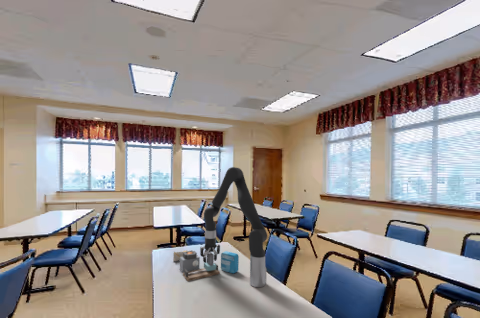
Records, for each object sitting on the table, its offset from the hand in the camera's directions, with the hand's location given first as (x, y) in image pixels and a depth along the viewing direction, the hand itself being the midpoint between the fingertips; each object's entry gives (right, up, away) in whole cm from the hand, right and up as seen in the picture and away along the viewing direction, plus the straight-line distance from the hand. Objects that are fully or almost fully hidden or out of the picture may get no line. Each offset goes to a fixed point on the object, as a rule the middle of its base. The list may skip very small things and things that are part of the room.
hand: (210, 261), depth 158 cm
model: (-25, -9, +20) cm, 33 cm away
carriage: (0, -5, 0) cm, 5 cm away
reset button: (-15, +1, +6) cm, 16 cm away
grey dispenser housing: (-15, -7, +5) cm, 18 cm away
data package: (+13, -8, +3) cm, 16 cm away
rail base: (-5, -7, -4) cm, 10 cm away
